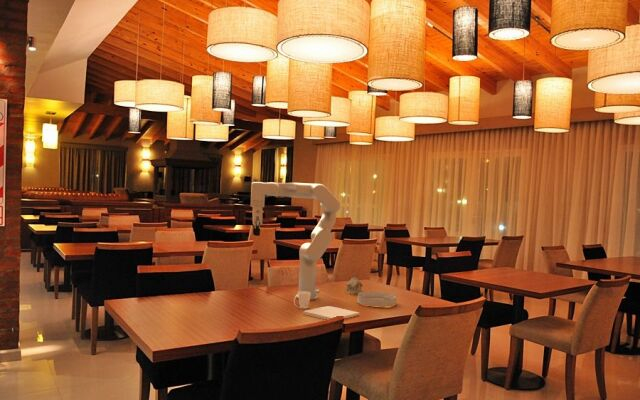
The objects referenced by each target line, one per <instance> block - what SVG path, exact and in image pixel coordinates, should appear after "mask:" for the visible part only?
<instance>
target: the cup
mask: <svg viewBox="0 0 640 400" xmlns="http://www.w3.org/2000/svg"><path fill="white" fill-rule="evenodd" d="M297 294H298V295H297ZM297 294H296V295H295V296H294V298H293V304H294V306H295V307H296V308H298V309H303V310H304V309H308V308H309V304H310V301H311V300H310V296H311V292H307V291H300V292H299V291H298V292H297ZM297 296H298V297H299V299H298V303H299V306H298V305H297V304H296V299H297V298H296V297H297Z"/></svg>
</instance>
